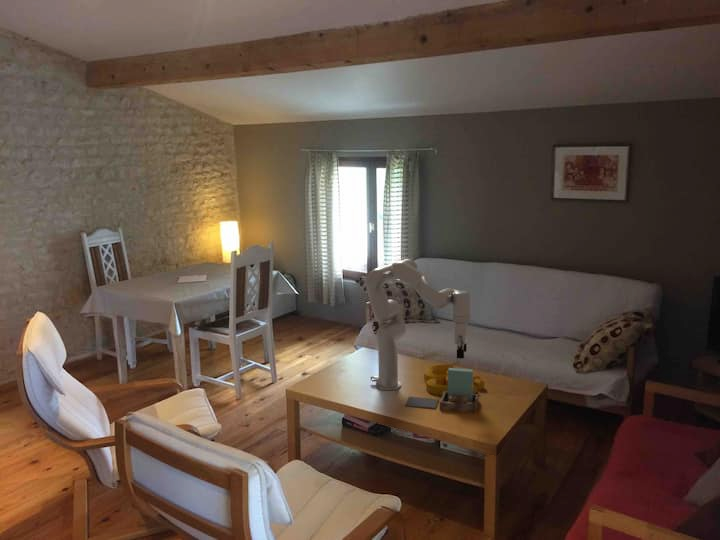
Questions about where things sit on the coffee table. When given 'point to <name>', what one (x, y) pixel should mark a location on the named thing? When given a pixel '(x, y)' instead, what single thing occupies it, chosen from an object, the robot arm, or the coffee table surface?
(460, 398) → the offcut stack
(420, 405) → the mat
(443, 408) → the brown rectangular frame
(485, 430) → the coffee table surface
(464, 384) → the teal rectangular block
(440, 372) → the decorative symbol
